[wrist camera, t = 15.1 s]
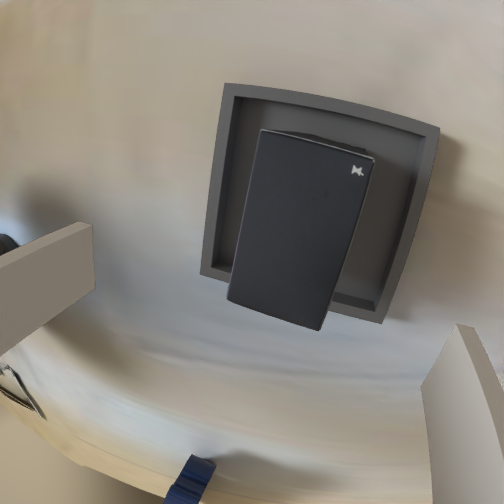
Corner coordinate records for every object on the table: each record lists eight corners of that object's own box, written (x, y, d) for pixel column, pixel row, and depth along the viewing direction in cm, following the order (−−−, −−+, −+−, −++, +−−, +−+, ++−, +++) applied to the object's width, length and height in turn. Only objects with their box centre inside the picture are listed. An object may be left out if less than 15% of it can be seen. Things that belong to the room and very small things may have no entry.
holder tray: (380, 310, 28) (381, 324, 26) (210, 264, 32) (199, 274, 29) (432, 128, 22) (440, 128, 19) (235, 86, 25) (224, 82, 23)
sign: (201, 489, 56) (176, 534, 45) (185, 482, 57) (160, 526, 46) (231, 435, 38) (191, 517, 27) (205, 424, 38) (160, 503, 27)
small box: (290, 128, 25) (254, 122, 15) (368, 149, 23) (383, 155, 14) (263, 246, 29) (219, 302, 19) (334, 268, 28) (323, 336, 18)
